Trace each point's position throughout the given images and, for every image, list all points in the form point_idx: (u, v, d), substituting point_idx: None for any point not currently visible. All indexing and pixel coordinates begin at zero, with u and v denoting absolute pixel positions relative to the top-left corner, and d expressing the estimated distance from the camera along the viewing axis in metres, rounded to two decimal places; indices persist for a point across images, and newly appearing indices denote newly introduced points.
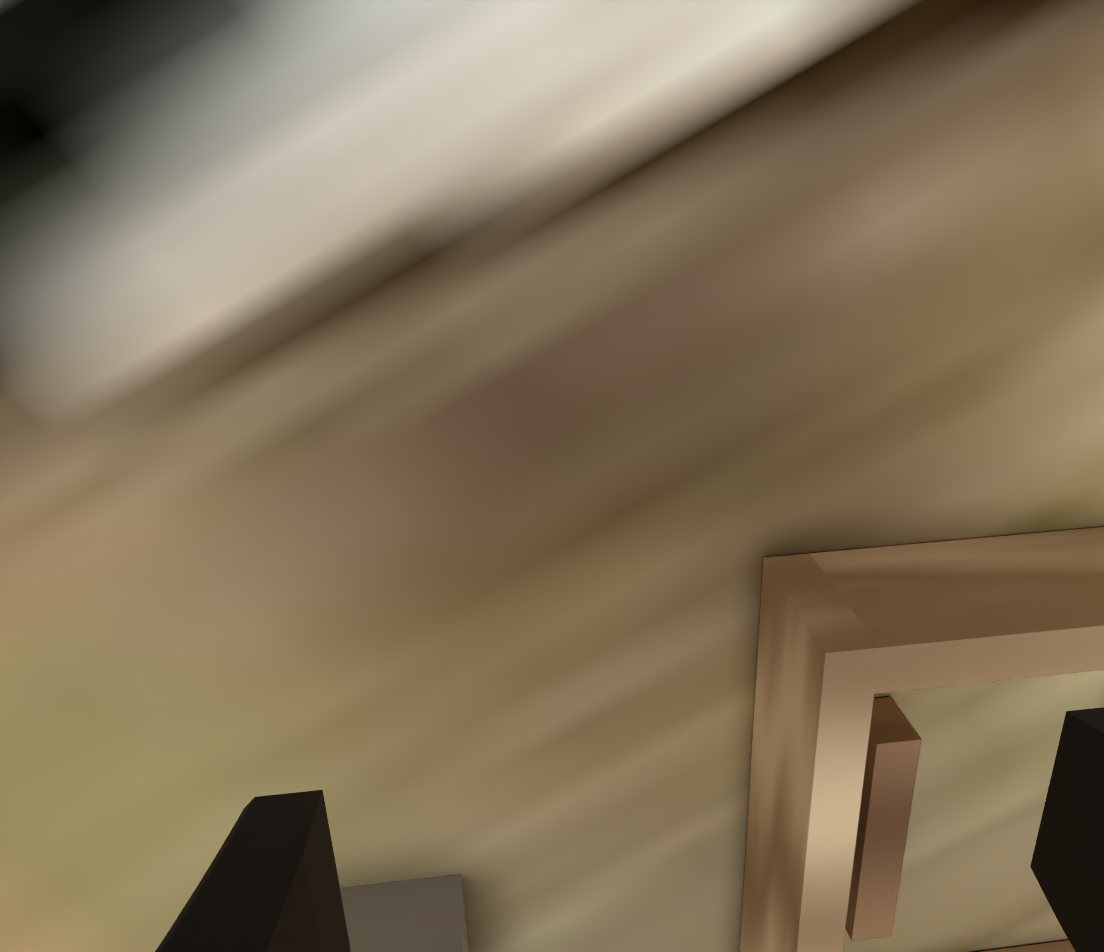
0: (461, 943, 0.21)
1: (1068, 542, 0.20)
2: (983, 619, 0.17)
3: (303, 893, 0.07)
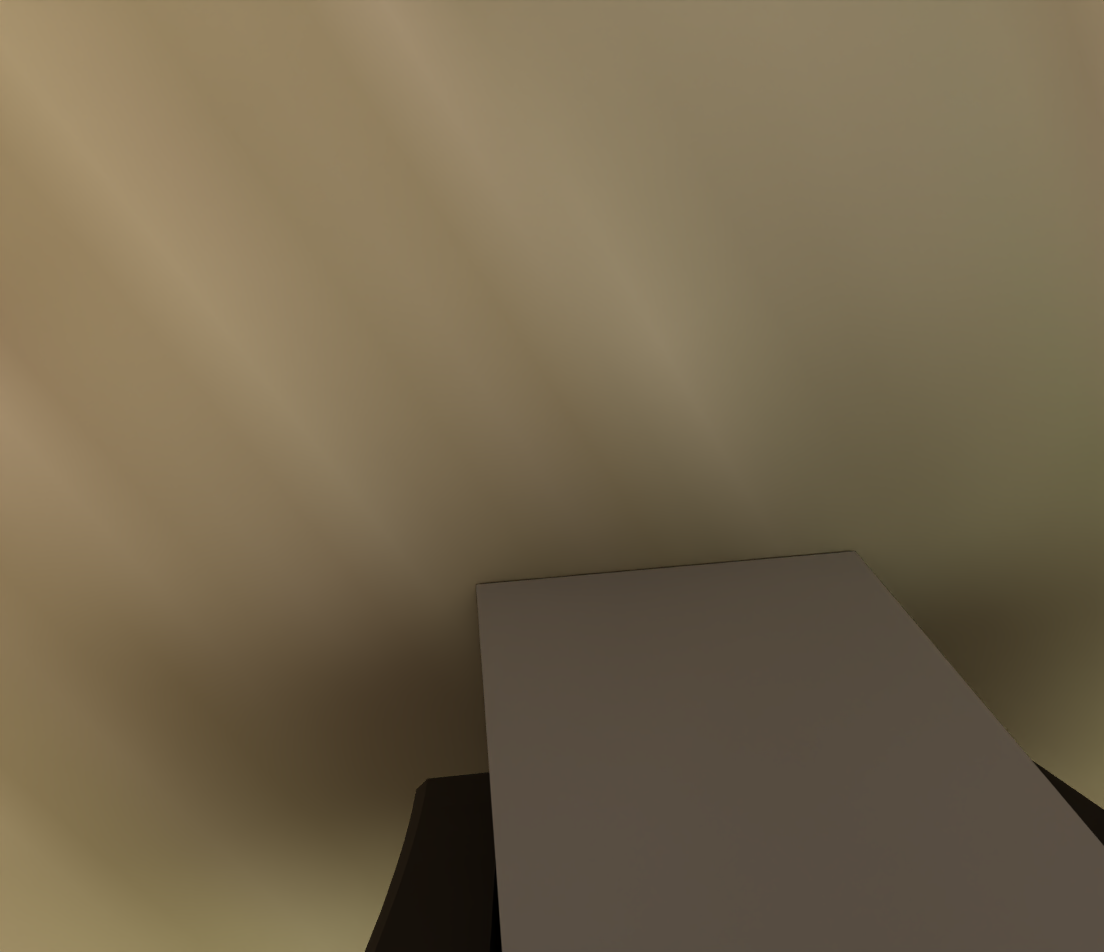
0: None
1: None
2: None
3: None
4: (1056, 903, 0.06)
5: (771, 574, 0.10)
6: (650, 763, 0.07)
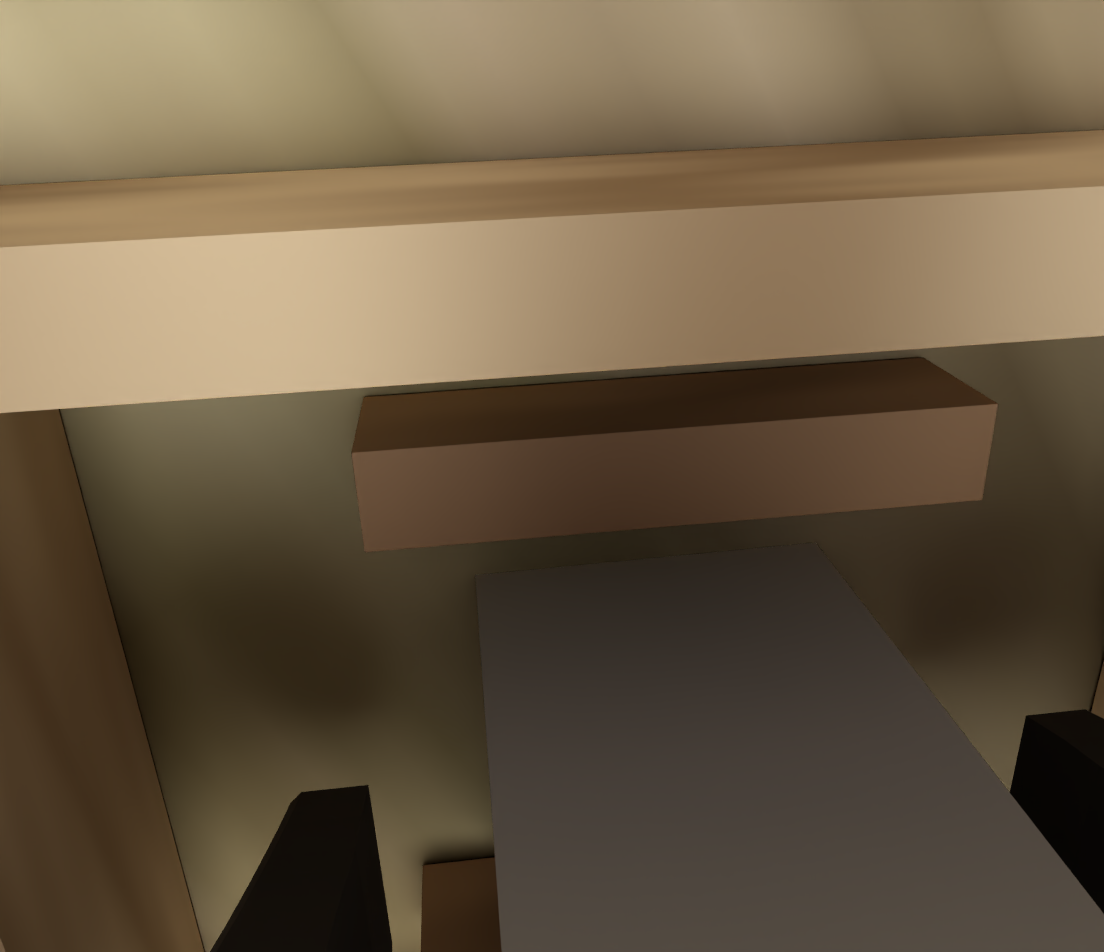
0: (482, 679, 0.09)
1: None
2: None
3: (356, 887, 0.07)
4: (960, 832, 0.07)
5: (738, 563, 0.11)
6: (623, 723, 0.08)
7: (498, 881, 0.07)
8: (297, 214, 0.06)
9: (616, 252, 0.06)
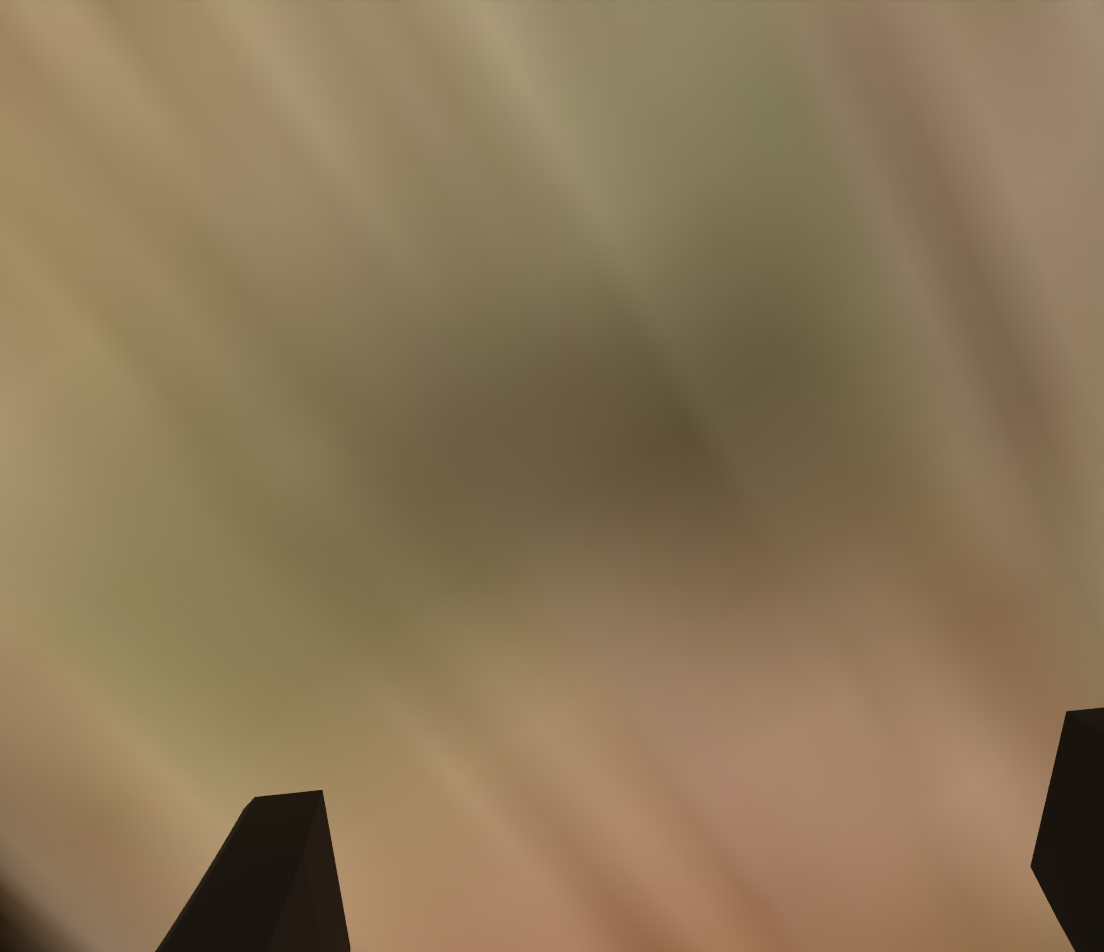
0: None
1: None
2: None
3: (303, 893, 0.07)
4: None
5: None
6: None
7: None
8: None
9: None
